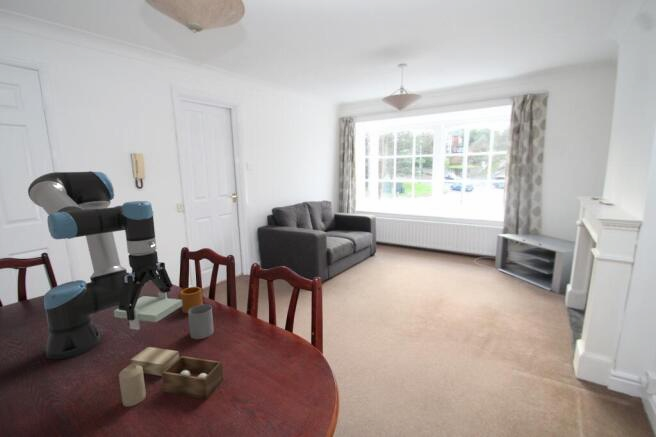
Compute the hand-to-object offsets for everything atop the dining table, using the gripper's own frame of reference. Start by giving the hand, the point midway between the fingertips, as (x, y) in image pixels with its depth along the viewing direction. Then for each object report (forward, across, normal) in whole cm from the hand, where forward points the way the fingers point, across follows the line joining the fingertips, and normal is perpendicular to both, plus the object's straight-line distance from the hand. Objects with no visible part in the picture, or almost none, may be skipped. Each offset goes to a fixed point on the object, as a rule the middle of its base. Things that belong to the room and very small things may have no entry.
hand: (150, 319), depth 95 cm
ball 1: (+14, -5, -15) cm, 21 cm away
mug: (+17, +39, +17) cm, 46 cm away
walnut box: (+17, -5, -18) cm, 25 cm away
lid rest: (+17, 0, 0) cm, 17 cm away
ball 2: (+14, -5, -21) cm, 26 cm away
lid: (-3, 0, 0) cm, 3 cm away
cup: (+17, +21, -2) cm, 27 cm away
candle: (+17, -13, -5) cm, 22 cm away
